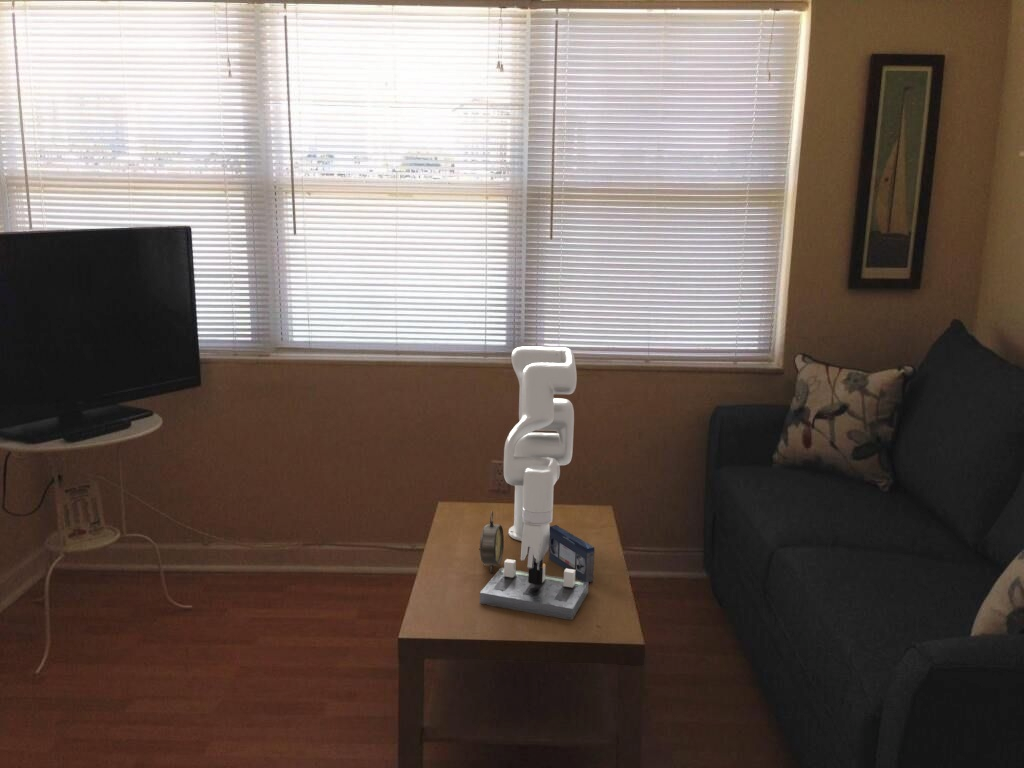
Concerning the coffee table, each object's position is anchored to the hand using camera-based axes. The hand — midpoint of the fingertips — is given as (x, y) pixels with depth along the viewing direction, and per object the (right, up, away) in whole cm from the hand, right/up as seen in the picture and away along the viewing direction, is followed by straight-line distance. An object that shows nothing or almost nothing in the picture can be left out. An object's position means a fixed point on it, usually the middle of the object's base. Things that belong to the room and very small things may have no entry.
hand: (535, 582), depth 231 cm
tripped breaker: (+1, 0, +3) cm, 3 cm away
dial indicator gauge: (-12, 0, +19) cm, 22 cm away
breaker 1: (-7, +1, +6) cm, 9 cm away
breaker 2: (+9, -1, +1) cm, 9 cm away
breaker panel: (0, -4, +1) cm, 4 cm away
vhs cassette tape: (+10, -1, +18) cm, 21 cm away
